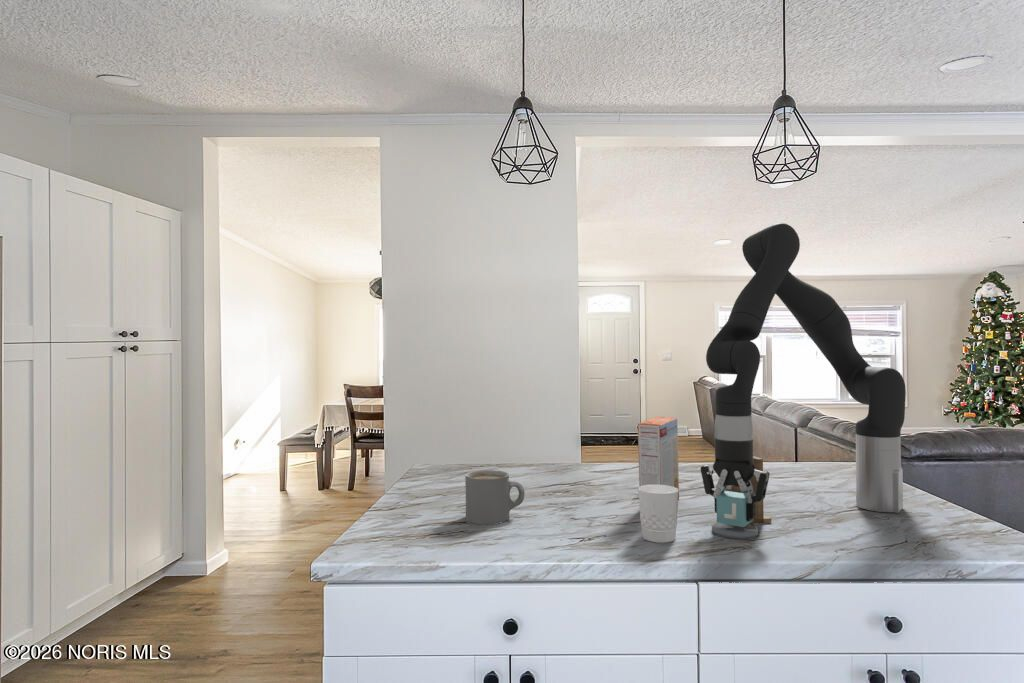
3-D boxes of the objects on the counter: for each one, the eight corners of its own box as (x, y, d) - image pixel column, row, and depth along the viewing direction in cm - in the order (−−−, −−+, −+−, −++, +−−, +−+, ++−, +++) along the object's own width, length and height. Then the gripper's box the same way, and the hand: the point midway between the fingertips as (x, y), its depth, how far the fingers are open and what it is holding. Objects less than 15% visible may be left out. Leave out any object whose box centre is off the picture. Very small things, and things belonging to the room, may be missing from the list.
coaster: (763, 531, 133) (763, 526, 133) (749, 542, 126) (749, 537, 126) (721, 523, 138) (721, 519, 138) (705, 534, 131) (705, 529, 131)
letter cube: (752, 520, 132) (752, 494, 132) (743, 527, 128) (743, 500, 128) (726, 516, 136) (726, 490, 136) (716, 522, 131) (716, 496, 131)
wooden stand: (743, 509, 150) (743, 450, 150) (771, 522, 139) (770, 458, 139) (724, 511, 149) (723, 451, 149) (750, 524, 138) (749, 459, 138)
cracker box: (656, 498, 161) (655, 416, 161) (680, 501, 158) (679, 417, 158) (637, 511, 149) (636, 422, 149) (662, 514, 146) (661, 423, 146)
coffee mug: (463, 524, 140) (462, 479, 140) (468, 512, 150) (467, 470, 150) (523, 524, 139) (523, 479, 139) (525, 512, 149) (524, 469, 149)
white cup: (650, 529, 135) (649, 482, 135) (685, 536, 130) (684, 487, 130) (632, 539, 129) (631, 489, 129) (668, 546, 124) (667, 495, 124)
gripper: (775, 437, 130) (776, 519, 130) (707, 431, 139) (708, 508, 139) (763, 442, 125) (764, 528, 125) (693, 435, 134) (694, 516, 134)
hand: (734, 517), depth 132 cm, fingers closed on letter cube, 5 cm apart
